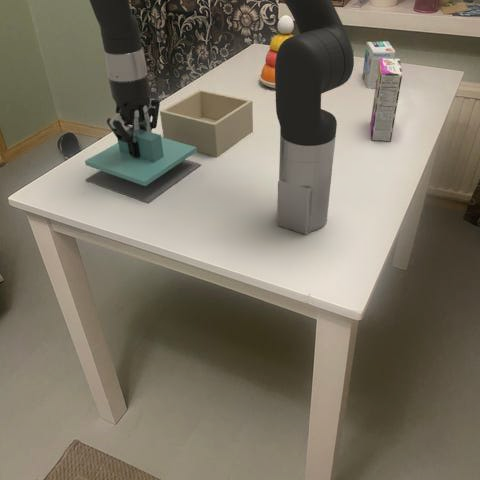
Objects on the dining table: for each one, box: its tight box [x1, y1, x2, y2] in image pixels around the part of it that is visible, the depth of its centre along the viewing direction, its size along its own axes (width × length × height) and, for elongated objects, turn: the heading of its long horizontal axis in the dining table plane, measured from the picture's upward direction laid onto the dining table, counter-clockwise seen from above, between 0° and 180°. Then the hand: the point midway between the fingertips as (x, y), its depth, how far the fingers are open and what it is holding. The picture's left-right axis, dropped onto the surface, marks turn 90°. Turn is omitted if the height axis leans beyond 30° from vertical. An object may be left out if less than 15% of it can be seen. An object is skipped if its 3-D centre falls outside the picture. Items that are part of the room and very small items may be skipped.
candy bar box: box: [370, 58, 403, 143], centre depth 112 cm, size 11×5×16 cm, turn 168°
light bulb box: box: [361, 40, 396, 89], centre depth 141 cm, size 11×7×11 cm, turn 178°
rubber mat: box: [85, 159, 202, 204], centre depth 104 cm, size 18×18×1 cm
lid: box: [84, 129, 197, 186], centre depth 101 cm, size 17×17×7 cm
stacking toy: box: [258, 14, 295, 89], centre depth 140 cm, size 14×14×20 cm
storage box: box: [159, 89, 254, 158], centre depth 116 cm, size 16×16×8 cm
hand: (141, 152), depth 102 cm, fingers closed on lid, 3 cm apart
